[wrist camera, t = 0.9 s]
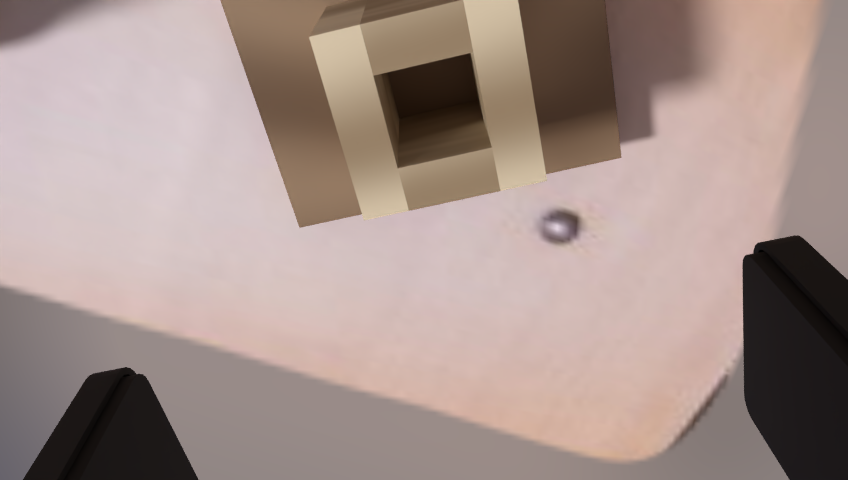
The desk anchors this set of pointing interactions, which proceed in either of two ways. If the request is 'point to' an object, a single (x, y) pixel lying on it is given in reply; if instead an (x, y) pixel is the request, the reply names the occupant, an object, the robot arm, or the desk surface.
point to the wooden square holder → (437, 130)
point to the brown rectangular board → (420, 92)
